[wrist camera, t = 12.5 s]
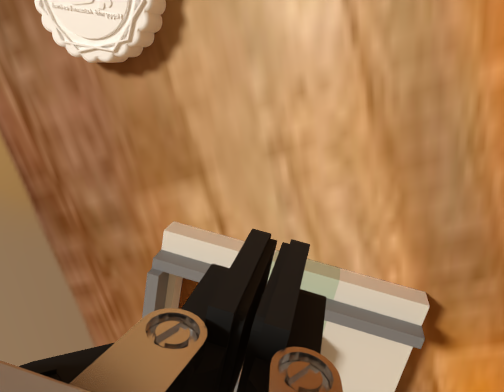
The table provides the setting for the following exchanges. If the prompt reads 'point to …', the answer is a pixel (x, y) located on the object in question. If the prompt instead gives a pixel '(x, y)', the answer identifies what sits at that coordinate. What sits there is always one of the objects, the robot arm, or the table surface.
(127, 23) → the mooncake
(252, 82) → the table surface
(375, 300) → the lane board
